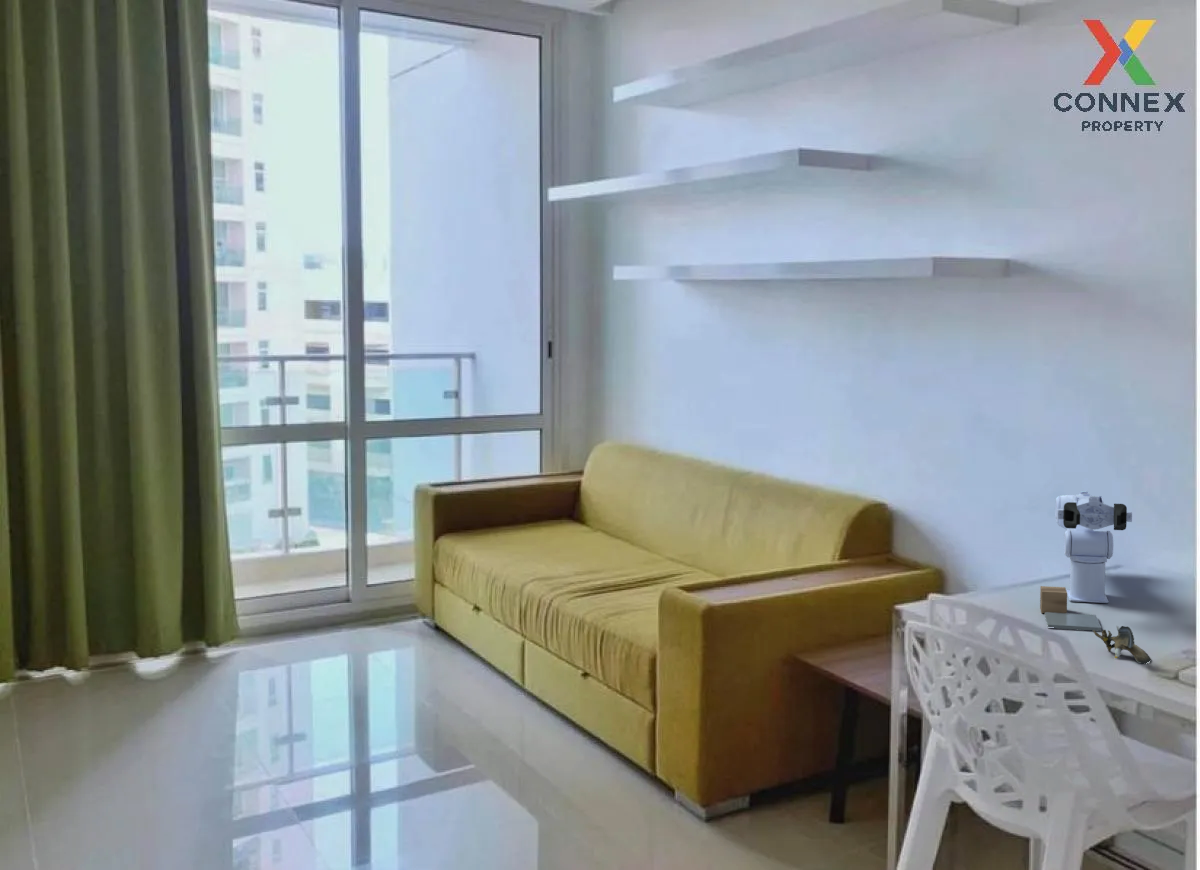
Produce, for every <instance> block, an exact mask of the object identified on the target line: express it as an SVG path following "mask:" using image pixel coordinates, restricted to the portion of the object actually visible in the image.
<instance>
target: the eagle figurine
mask: <svg viewBox="0 0 1200 870" xmlns="http://www.w3.org/2000/svg"><path fill="white" fill-rule="evenodd" d="M1116 630H1117V635H1116V636H1113V634H1112V633H1111V631H1110V630H1107V631H1106V629H1103V630H1101V634H1099V633H1098V631H1094V630H1093V631H1092V632H1093V633H1094V635H1095V636H1096V637H1097V638H1098V639H1101V641H1102V642H1103V643H1104V644H1105V646H1106V648H1107V652H1108V651H1109V652H1111V650H1112V649H1114V658H1117V659H1118V658H1120V657H1121V653H1122V651H1124V650H1125V651H1128V652H1129V653H1130V654H1131V655H1132V656H1133V657H1134V659H1135V661H1136V662H1137V663H1138V664H1141V663H1145V664H1146V663H1147V662H1149V661H1150V660H1151V661H1152V658H1151V657H1150V655H1149V654H1148V653H1147V652H1146V651H1145V650H1144V649H1143V648H1141V647H1140V646H1138V644H1137V645H1136V644H1135V637H1134V634H1133V631H1132V629H1131V628H1130V626H1123V625H1122V626H1120V627H1119V626H1118V625H1116ZM1107 632H1108V633H1107ZM1112 642H1114V643H1112ZM1111 643H1112V644H1111ZM1109 652H1108V653H1109ZM1151 661H1150V662H1151ZM1145 664H1144V665H1145Z"/></svg>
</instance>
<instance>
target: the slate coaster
mask: <svg viewBox="0 0 1200 870" xmlns="http://www.w3.org/2000/svg"><path fill="white" fill-rule="evenodd" d="M1045 618H1046V619H1045ZM1044 619H1045V622H1047V623H1046V626H1047V625H1048V626H1047V628H1048V627H1054V628H1062V629H1061V630H1067V629H1078V630H1077V631H1084V630H1092V631H1091V632H1093V630H1094V631H1096V632H1102V626H1101V624H1100V622H1099V619H1098V617H1097V615H1096V614H1089V613H1086V614H1085V613H1071V612H1070V613H1069V612H1067V613H1054V612H1045V614H1044Z"/></svg>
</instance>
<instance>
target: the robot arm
mask: <svg viewBox="0 0 1200 870" xmlns="http://www.w3.org/2000/svg"><path fill="white" fill-rule="evenodd" d="M1054 514H1055V515H1054V516H1055V522H1056V523H1057V525H1058V526H1059V527H1061V528H1063V529H1065V531H1064V534H1063V536H1064V537H1063V552H1064V556H1066V558H1069V560H1070V567H1069V568H1070V569H1069V570H1070V574H1069V575H1070V578H1069V579H1070V580H1069V589H1066V591H1067V599H1068V600H1069V602H1079V603H1080V602H1081V603H1095V604H1096V603H1101V604H1109V599H1108V597H1107V595H1106V563H1108V560H1110V559H1111V558H1112V557H1113V556H1114V535H1113V533H1112V532H1111V530H1106V531H1103V530H1100V531H1098V530H1099V529H1104V528H1107V527H1110V526H1113V530H1114V531H1124V530H1126V529H1127V522H1129V523H1132V522H1133V512H1132V511H1128V509H1127V506H1126V505H1125V504H1124V503H1113V506H1112V505H1109V504H1106V503H1104V498H1103V497H1102V495H1099V496H1095V495H1094V496H1093V495H1091V494H1090V493H1089V491H1088V490H1087V491H1083V490H1082V491H1079V493H1078V494H1067V495H1066V494H1064V495H1058V496H1057V497H1056V498H1055V507H1054Z"/></svg>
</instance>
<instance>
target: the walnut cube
mask: <svg viewBox="0 0 1200 870" xmlns="http://www.w3.org/2000/svg"><path fill="white" fill-rule="evenodd" d="M1039 587H1040V591H1039V593H1040V594H1039V595H1040V596H1039V597H1040V598H1039V602H1040V603H1039V607H1040V608H1039V609H1040V613H1041V614H1042V613H1044V614H1043V615H1045V612H1054V613H1068V595H1067V591H1066V590H1067V589H1066V586H1049V585H1048V586H1042V585H1040V586H1039Z"/></svg>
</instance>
